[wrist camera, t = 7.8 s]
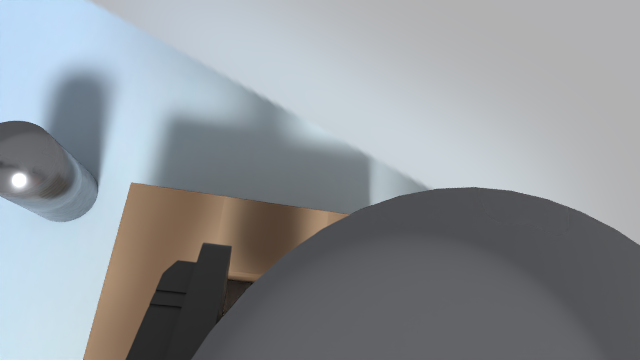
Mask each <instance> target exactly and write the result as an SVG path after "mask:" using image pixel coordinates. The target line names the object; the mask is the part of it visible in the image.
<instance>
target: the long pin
mask: <svg viewBox="0 0 640 360" xmlns="http://www.w3.org/2000/svg"><path fill="white" fill-rule="evenodd" d="M191 360H640V245H638V244H637V243H635V242H634V241H632V240H631V239H629V238H628V237H626V236H625V235H623V234H622V233H620V232H619V231H617V230H615V229H614V228H612V227H610V226H608V225H606V224H604V223H602V222H600V221H598V220H596V219H594V218H592V217H590V216H588V215H586V214H584V213H582V212H580V211H577V210H575V209H572V208H569V207H567V206H564V205H561V204H558V203H556V202H553V201H550V200H548V199H544V198H539V197H535V196H531V195H527V194H523V193H518V192H514V191H506V190H497V189H487V188H477V187H471V188H446V189H434V190H429V191H423V192H418V193H413V194H407V195H402V196H398V197H395V198H392V199H389V200H386V201H383V202H380V203H377V204H374V205H371V206H368V207H366V208H363V209H360V210H358V211H356V212H354V213H352V214H350V215H348V216H346V217H344V218H342V219H340V220H338V221H336V222H334V223H333V224H331V225H329V226H327V227H325V228H323V229H321V230H320V231H318V232H317V233H315V234H314V235H313V236H311V237H310V238H308V239H307V240H305V241H304V242H302V243H301V244H300V245H298V246H297V247H295V248H294V249H292V250H291V251H289V252H288V253H287V254H285V255H284V256H283V257H282V258H281V259H279V260H278V261H277V262H276V263H275V264H274V265H273V266H272V267H271V268H269V269H268V270H267V271H266V272H265V273H264V274H263V275H262V276H261V277H260V278H258V279H257V280H256V281H255V282H254V283H253V284H252V285H251V286H250V287H249V288H247V289H246V291H245V292H244V293H243V294H242V295H241V296H240V297H239V299H238V300H237V301H236V302H235V303H234V304H233V306H232V307H231V308H230V309H229V310H228V311H227V313H226V314H225V315H224V316H223V317H222V318H221V320H220V321H219V322H218V323H217V324H216V325H215V327H214V328H213V329H212V330H211V331H210V332H209V334H208V335H207V337H206V338H205V340H204V341H203V343H202V344H201V346H200V347H199V349H198V350H197V352H196V353H195V355H194V356H193V358H192V359H191Z"/></svg>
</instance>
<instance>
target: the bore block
mask: <svg viewBox="0 0 640 360" xmlns="http://www.w3.org/2000/svg"><path fill="white" fill-rule="evenodd" d="M348 215H349V214H342V213H335V212H328V211H322V210H315V209H308V208H301V207H294V206H288V205H281V204H274V203H267V202H260V201H254V200H247V199H240V198H233V197H226V196H220V195H213V194H206V193H199V192H192V191H185V190H179V189H172V188H165V187H158V186H151V185H145V184H138V183H131V185H130V189H129V192H128V196H127V200H126V203H125V207H124V211H123V214H122V218H121V222H120V225H119V229H118V233H117V236H116V240H115V244H114V247H113V251H112V255H111V258H110V262H109V266H108V269H107V273H106V277H105V280H104V284H103V288H102V292H101V295H100V299H99V303H98V306H97V310H96V314H95V317H94V321H93V325H92V328H91V332H90V336H89V339H88V343H87V347H86V350H85V354H84V358H83V360H125V359H126V357H127V355H128V352H129V350H130V348H131V346H132V343H133V341H134V339H135V336H136V334H137V332H138V329H139V327H140V325H141V322H142V320H143V318H144V315H145V313H146V311H147V308H148V307H149V304H150V301H151V299H152V297H153V295H154V293H155V291H156V288H157V285H158V283H159V281H160V278H161V276H162V274H163V272H165V271H166V270H167V269H168V268H169V267H170V266H171V265H173V264H174V263H175V262H176V261H177V260H181V261H190V262H197V259H198V256H199V253H200V250H201V247H202V244H203V242H204V243H212V244H220V245H229V246H232V252H231V259H230V266H229V273H228V280H237V281H246V282H255V281H256V280H257V279H258V278H260V277H261V276H262V275H263V274H264V273H265V272H266V271H267V270H268V269H269V268H271V267H272V266H273V265H274V264H275V263H276V262H277V261H278V260H279V259H281V258H282V257H283V256H284V255H285V254H287V253H288V252H289V251H291V250H292V249H294V248H295V247H297V246H298V245H300V244H301V243H302V242H304V241H305V240H307V239H308V238H310V237H311V236H313V235H314V234H315V233H317V232H318V231H320V230H321V229H323V228H325V227H327V226H329V225H331V224H333V223H334V222H336V221H338V220H340V219H342V218H344V217H346V216H348Z"/></svg>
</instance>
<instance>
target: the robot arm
mask: <svg viewBox="0 0 640 360" xmlns="http://www.w3.org/2000/svg"><path fill="white" fill-rule="evenodd" d="M231 252H232V246H229V245H220V244H212V243H204V242H203V244H202V247H201V250H200V253H199V256H198V259H197V262H190V261H181V260H177V261H176V262H175V263H174V264H173V265H171V266H170V267H169V268H168V269H167V270H166V271H165V272H163V274H162V276H161V278H160V281H159V283H158V285H157V288H156V291H155V293H154V295H153V297H152V299H151V301H150V304H149V307H148V308H147V311H146V313H145V315H144V318H143V320H142V322H141V325H140V327H139V329H138V332H137V334H136V336H135V339H134V341H133V343H132V346H131V348H130V350H129V352H128V355H127V357H126V359H125V360H191V359H192V358H193V356H194V355H195V353H196V352H197V350H198V349H199V347H200V346H201V344H202V343H203V341H204V340H205V338H206V337H207V335H208V334H209V332H210V331H211V330H212V329H213V328H214V327H215V325H216V324H217V323H218V322H219V321H220V320H221V318H222V313H223V307H224V301H225V294H226V287H227V280H228V273H229V266H230V259H231Z"/></svg>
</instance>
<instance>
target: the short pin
mask: <svg viewBox="0 0 640 360" xmlns="http://www.w3.org/2000/svg"><path fill="white" fill-rule="evenodd" d="M97 194H98V187H97V183H96V181H95V179H94V177H93V176H92V175H91V174H90V173H89V172H88V171H87V170H86V169H85V168H84V167H83V166H82V165H81V164H80V163H79V162H78V161H77V160H76V159H75V158H74V157H73V156H71V155H70V154H69V153H68V152H67V151H66V150H65V149H64V148H63V147H62V146H61V145H60V144H59V143H58V142H57V141H56V140H55V139H54V138H53V137H52V136H51V135H50V134H49V133H48V132H46V131H45V130H44V129H43V128H41V127H40V126H38V125H36V124H33V123H30V122H25V121H8V122H3V123H0V196H1V197H3V198H5V199H7V200H9V201H11V202H13V203H15V204H17V205H19V206H21V207H23V208H26V209H28V210H30V211H32V212H34V213H36V214H38V215H40V216H42V217H44V218H46V219H48V220H51V221H56V222H66V221H71V220H74V219H77V218H79V217H81V216H82V215H84V214H85V213H86V212H88V211H89V210H90V208H91V207H92V206H93V204H94V203H95V201H96V198H97Z"/></svg>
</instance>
